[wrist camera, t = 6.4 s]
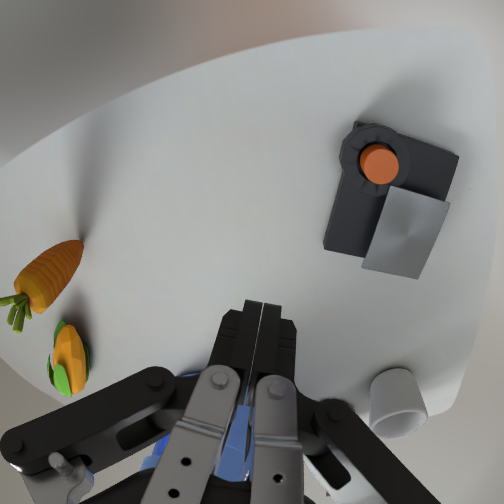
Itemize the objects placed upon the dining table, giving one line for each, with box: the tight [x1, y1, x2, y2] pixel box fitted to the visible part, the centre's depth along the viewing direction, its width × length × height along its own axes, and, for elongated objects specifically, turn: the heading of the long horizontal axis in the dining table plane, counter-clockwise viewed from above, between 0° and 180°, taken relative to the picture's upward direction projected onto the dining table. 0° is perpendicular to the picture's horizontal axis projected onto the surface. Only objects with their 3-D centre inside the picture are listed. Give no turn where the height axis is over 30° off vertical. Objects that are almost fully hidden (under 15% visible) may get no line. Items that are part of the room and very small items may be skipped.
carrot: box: [0, 240, 84, 334], centre depth 28 cm, size 5×5×15 cm
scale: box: [323, 121, 459, 258], centre depth 26 cm, size 12×11×3 cm
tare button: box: [360, 144, 399, 184], centre depth 22 cm, size 3×3×2 cm
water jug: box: [140, 373, 250, 482], centre depth 35 cm, size 16×16×28 cm
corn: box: [47, 321, 89, 397], centre depth 43 cm, size 7×8×20 cm
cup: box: [369, 368, 428, 438], centre depth 37 cm, size 11×8×8 cm
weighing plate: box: [361, 185, 450, 279], centre depth 25 cm, size 8×6×1 cm
